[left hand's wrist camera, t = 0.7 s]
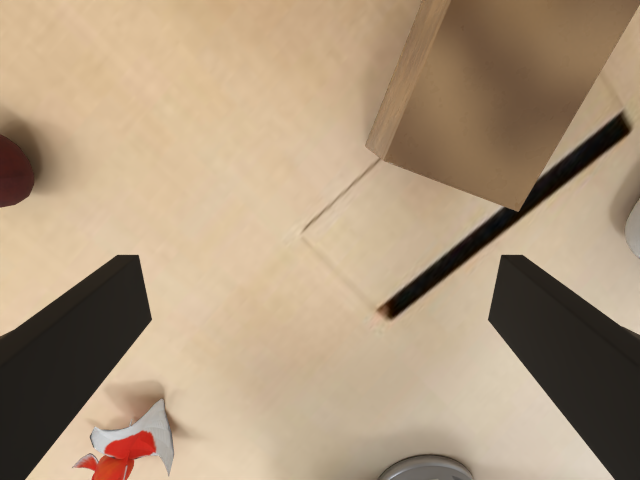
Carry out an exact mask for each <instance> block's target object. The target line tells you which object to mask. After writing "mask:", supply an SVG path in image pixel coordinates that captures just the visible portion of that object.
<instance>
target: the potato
mask: <svg viewBox="0 0 640 480" xmlns="http://www.w3.org/2000/svg"><path fill="white" fill-rule="evenodd" d="M33 185H34V174H33V171H32V168H31V165H30V162H29V160H28V159H27V157H26V156H25V154H24V153H23V152H22V150H21V149H20V148H19V147H18V146H17V145H16V144H15V143H13V142H12V141H10V140H9V139H8V138H6V137H4V136H2V135H0V207H6V206H11V205H15V204H17V203H19V202H21V201H22V200H24V199H25V198H27V197H28V196H29V195H30V193H31V190H32V188H33Z"/></svg>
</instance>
